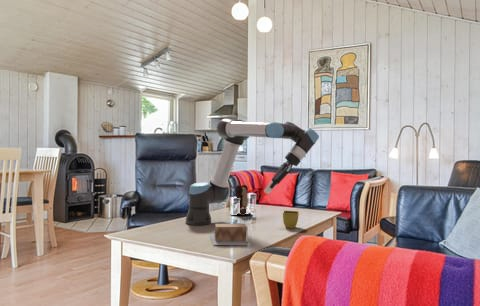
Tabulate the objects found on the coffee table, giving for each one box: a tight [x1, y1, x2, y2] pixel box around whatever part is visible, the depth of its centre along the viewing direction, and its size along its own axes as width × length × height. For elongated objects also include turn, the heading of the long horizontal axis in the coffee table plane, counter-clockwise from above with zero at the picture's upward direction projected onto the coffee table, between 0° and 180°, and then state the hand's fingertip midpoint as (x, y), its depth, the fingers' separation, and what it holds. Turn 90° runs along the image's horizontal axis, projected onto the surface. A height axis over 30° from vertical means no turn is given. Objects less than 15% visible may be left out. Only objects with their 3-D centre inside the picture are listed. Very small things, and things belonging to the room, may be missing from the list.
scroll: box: [235, 184, 249, 215], centre depth 258 cm, size 15×15×20 cm
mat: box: [209, 235, 248, 246], centre depth 184 cm, size 16×18×1 cm
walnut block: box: [214, 223, 249, 242], centre depth 184 cm, size 7×7×15 cm
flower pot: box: [282, 210, 300, 229], centre depth 221 cm, size 9×9×9 cm
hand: (266, 192), depth 190 cm, fingers closed
